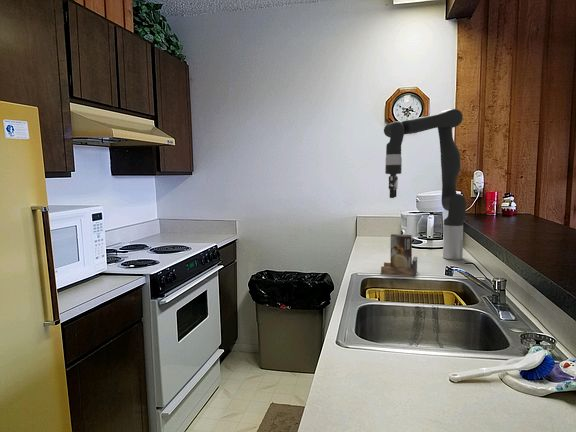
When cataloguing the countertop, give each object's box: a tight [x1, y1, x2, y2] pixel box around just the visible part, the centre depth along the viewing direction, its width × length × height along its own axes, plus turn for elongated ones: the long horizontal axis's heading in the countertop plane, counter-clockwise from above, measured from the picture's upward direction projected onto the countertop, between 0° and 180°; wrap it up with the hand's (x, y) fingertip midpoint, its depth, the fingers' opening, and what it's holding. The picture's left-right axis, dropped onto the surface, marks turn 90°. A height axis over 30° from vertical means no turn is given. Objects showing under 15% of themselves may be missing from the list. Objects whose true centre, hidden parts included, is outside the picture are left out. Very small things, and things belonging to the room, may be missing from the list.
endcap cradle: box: [380, 256, 418, 277], centre depth 178 cm, size 14×9×7 cm, turn 69°
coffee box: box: [389, 233, 413, 268], centre depth 178 cm, size 9×6×16 cm
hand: (393, 197), depth 196 cm, fingers open, 8 cm apart
